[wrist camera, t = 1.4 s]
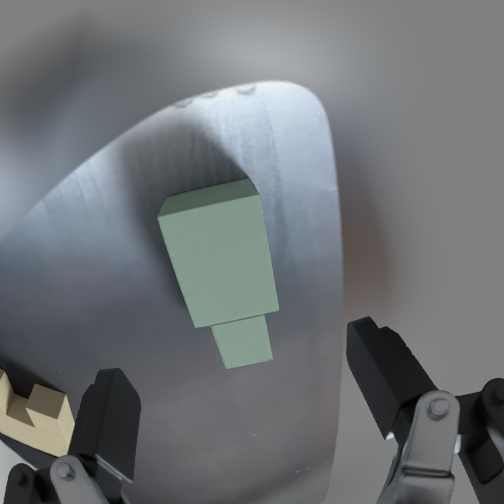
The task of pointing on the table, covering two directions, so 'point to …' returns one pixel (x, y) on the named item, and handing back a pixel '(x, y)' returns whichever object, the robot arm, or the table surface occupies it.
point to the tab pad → (223, 266)
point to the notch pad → (36, 417)
